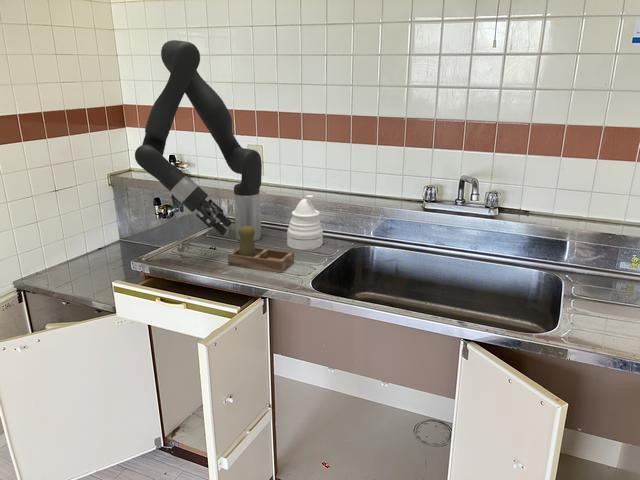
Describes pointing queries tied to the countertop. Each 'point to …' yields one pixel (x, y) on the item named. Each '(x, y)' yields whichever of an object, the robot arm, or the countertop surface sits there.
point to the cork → (247, 241)
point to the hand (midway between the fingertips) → (227, 228)
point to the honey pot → (305, 227)
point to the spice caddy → (263, 260)
